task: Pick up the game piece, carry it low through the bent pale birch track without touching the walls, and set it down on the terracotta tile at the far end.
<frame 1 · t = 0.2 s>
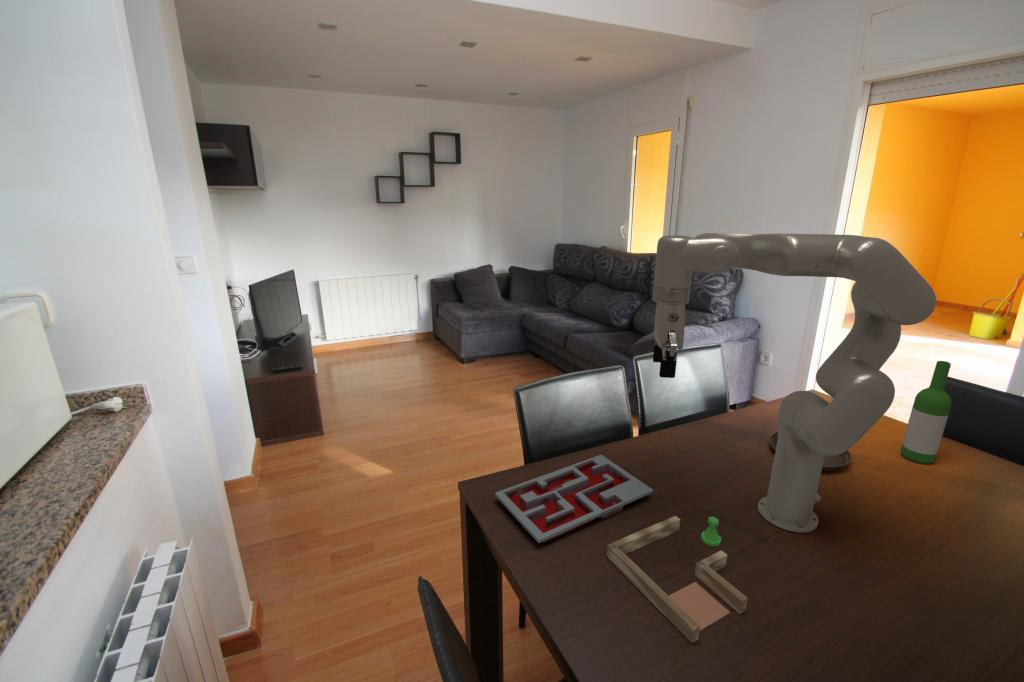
hand: (663, 369, 104), 37 cm above the table, tool pointing down, fingers open, 9 cm apart
bent track: (654, 566, 96), on the table
plant saucer: (806, 456, 137), on the table
game piece: (710, 540, 104), on the table
wine bottle: (916, 458, 136), on the table
maze game: (573, 502, 117), on the table
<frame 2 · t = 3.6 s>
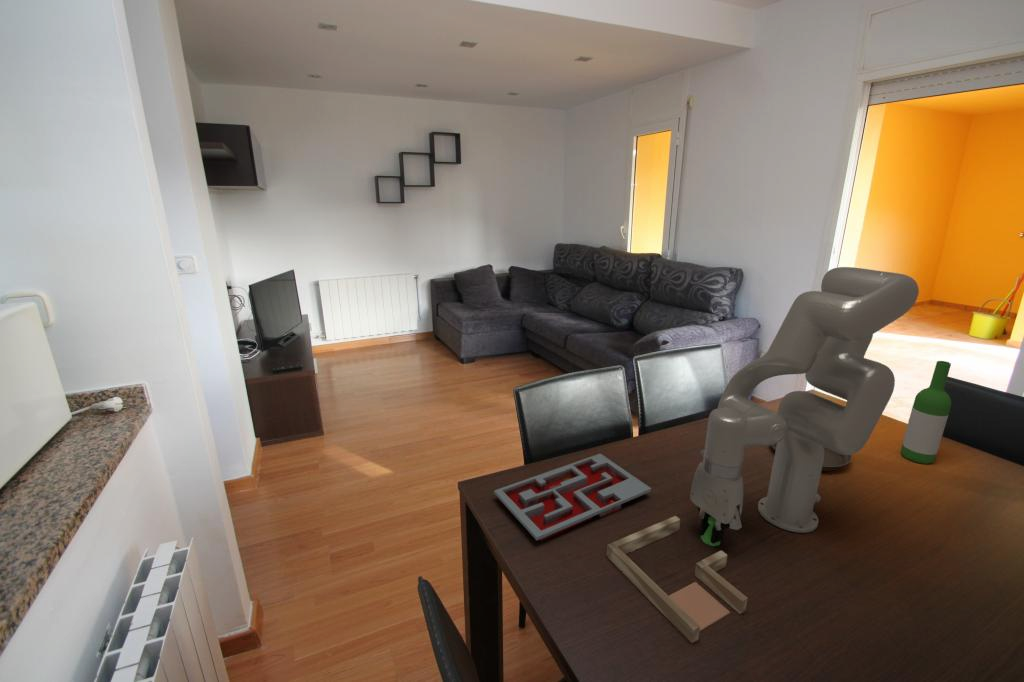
hand: (711, 536, 103), 1 cm above the table, tool pointing down, fingers closed on game piece, 2 cm apart
game piece: (710, 540, 104), on the table, touching gripper
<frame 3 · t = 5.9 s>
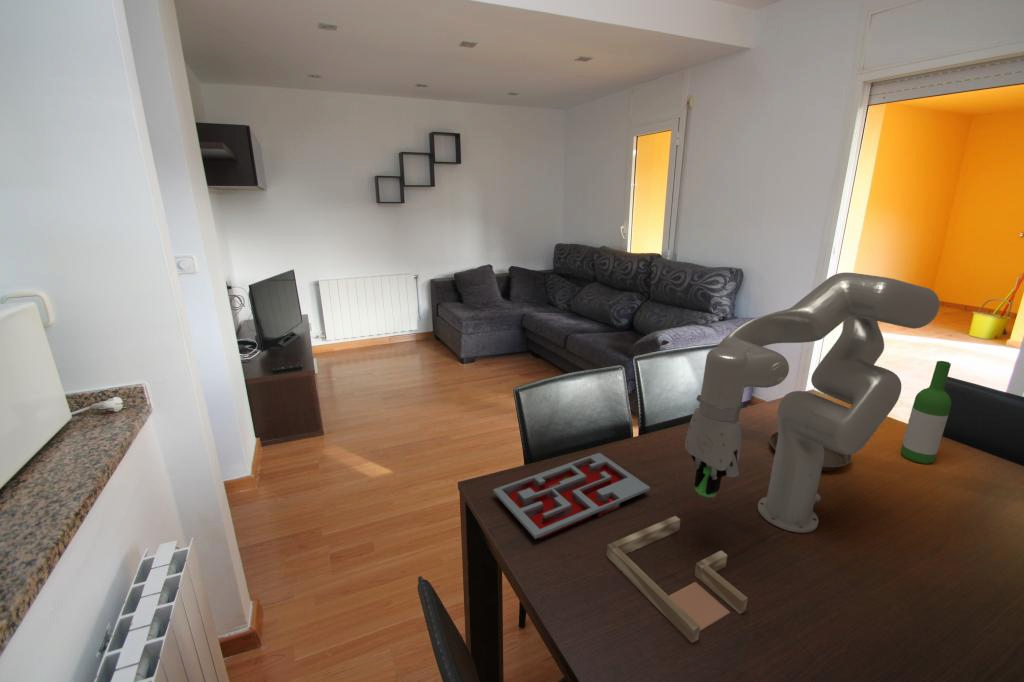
hand: (706, 488, 98), 15 cm above the table, tool pointing down, fingers closed on game piece
game piece: (705, 492, 98), point 14 cm above the table, touching gripper
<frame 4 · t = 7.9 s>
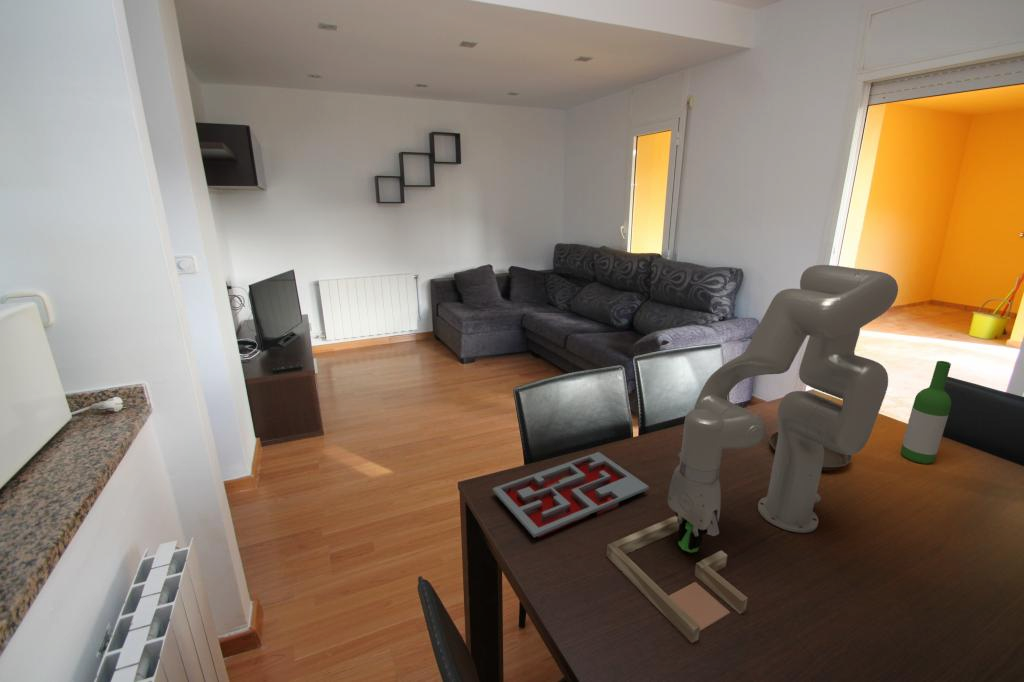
hand: (689, 542, 100), 2 cm above the table, tool pointing down, fingers closed on game piece, 2 cm apart
game piece: (688, 546, 100), point 1 cm above the table, touching gripper
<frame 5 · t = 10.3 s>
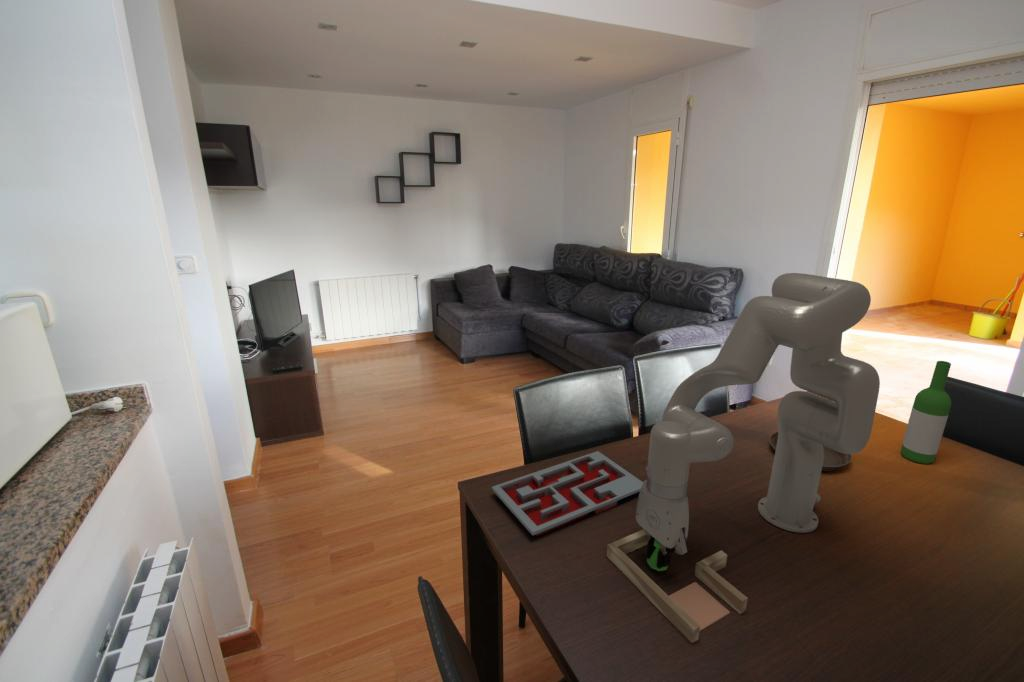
hand: (658, 560, 95), 2 cm above the table, tool pointing down, fingers closed on game piece, 2 cm apart
game piece: (657, 564, 95), point 1 cm above the table, touching gripper
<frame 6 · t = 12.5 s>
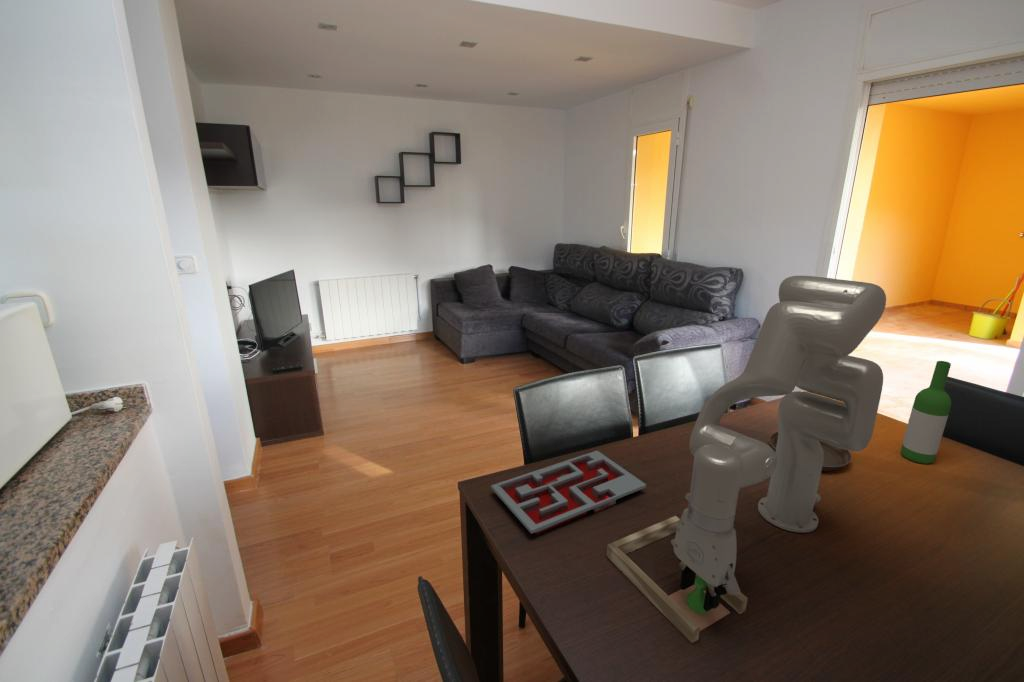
hand: (698, 595, 86), 2 cm above the table, tool pointing down, fingers open, 4 cm apart
game piece: (697, 604, 87), resting on bent track
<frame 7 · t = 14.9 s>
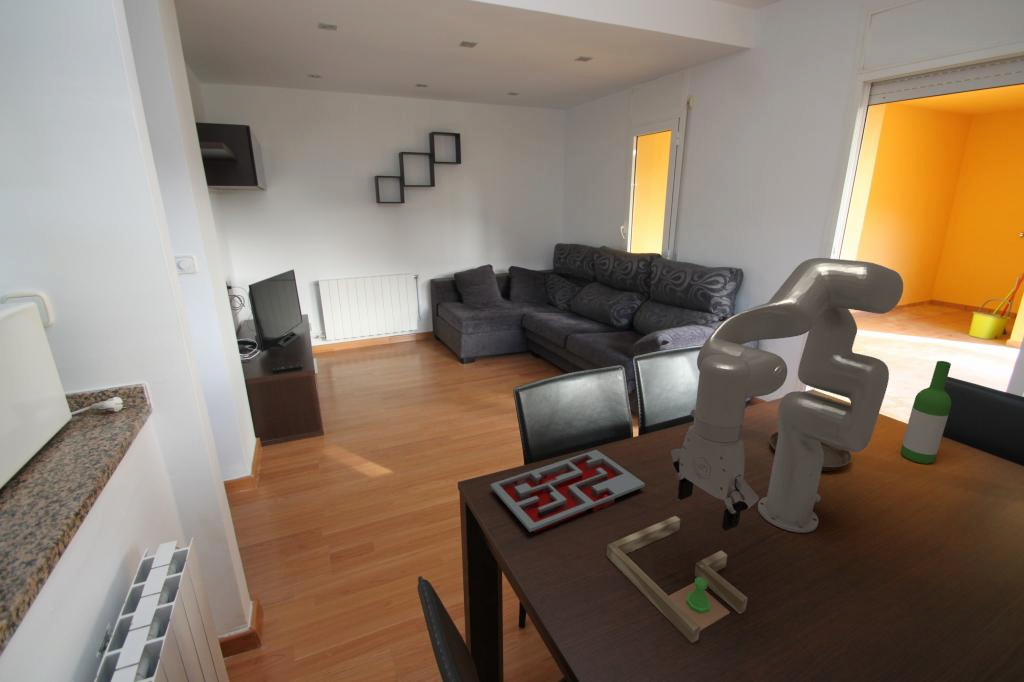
hand: (706, 511, 84), 19 cm above the table, tool pointing down, fingers open, 9 cm apart
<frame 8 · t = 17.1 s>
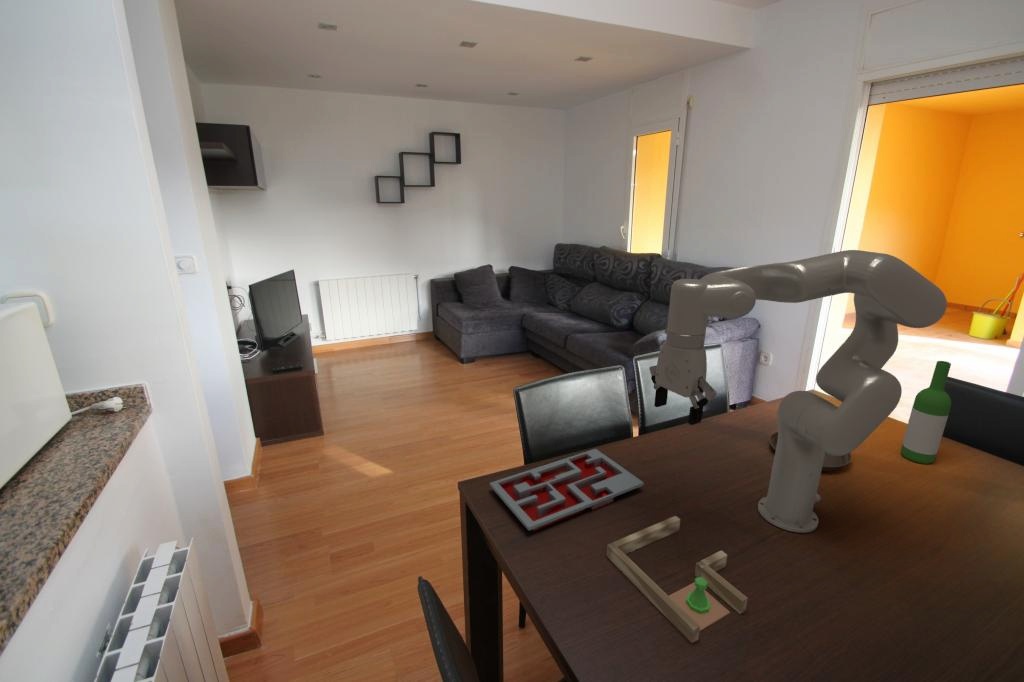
hand: (676, 414, 101), 28 cm above the table, tool pointing down, fingers open, 9 cm apart
at the end: game piece 0.2 cm from the target spot on the bent track, point 0.1 cm above the bent track's base; game piece tilted 0°; the gripper is holding nothing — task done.
